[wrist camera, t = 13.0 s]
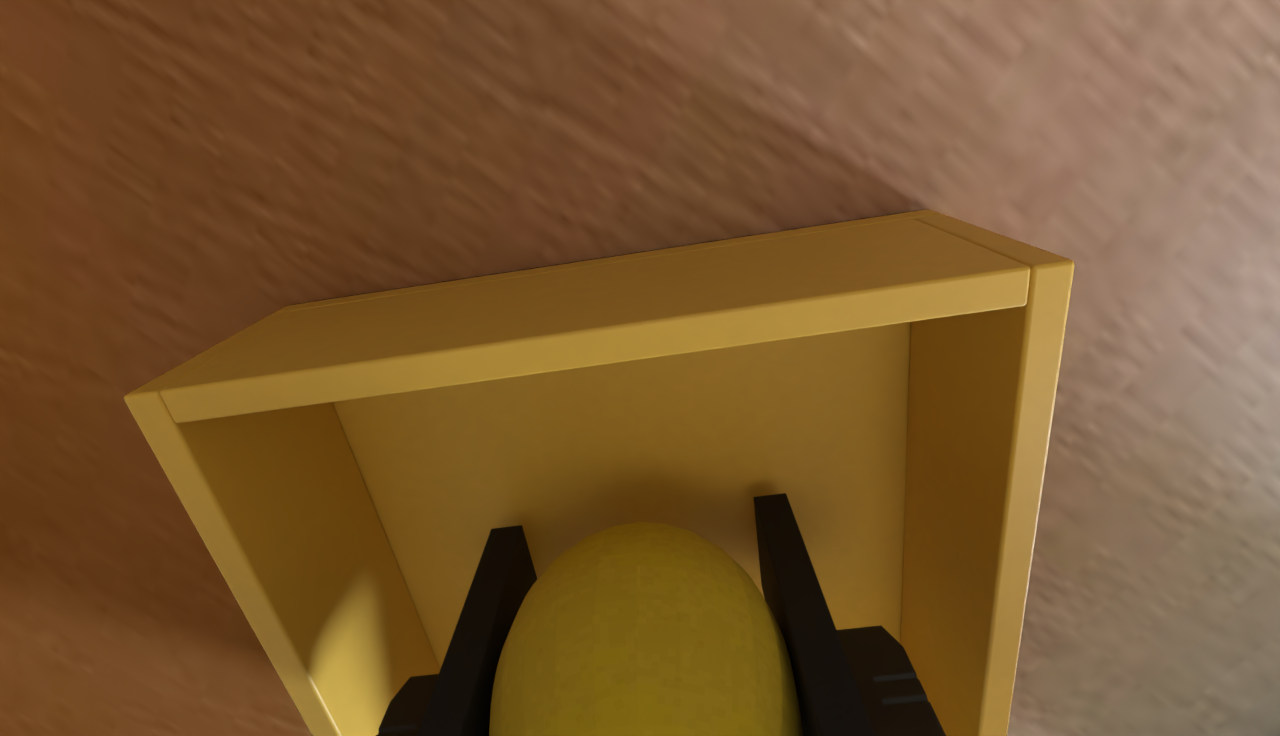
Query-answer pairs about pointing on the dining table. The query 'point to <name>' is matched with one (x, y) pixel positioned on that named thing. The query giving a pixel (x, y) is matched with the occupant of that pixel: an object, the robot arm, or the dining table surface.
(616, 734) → the lemon
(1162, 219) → the dining table surface
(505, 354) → the yellow bin
